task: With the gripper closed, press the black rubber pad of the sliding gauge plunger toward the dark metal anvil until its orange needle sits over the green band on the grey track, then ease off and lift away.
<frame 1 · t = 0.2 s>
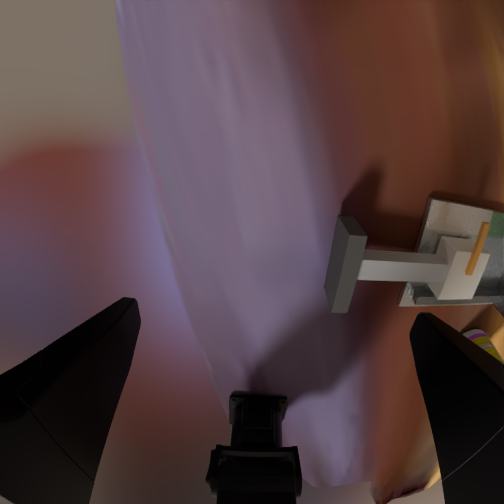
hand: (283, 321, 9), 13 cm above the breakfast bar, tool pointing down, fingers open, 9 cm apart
supplement bottle: (462, 346, 29), on the breakfast bar
plunger: (419, 258, 20), point 2 cm above the breakfast bar, slide at 0.0 cm
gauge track: (471, 257, 23), on the breakfast bar
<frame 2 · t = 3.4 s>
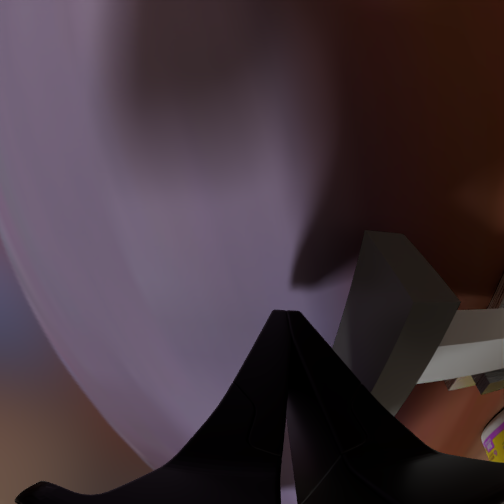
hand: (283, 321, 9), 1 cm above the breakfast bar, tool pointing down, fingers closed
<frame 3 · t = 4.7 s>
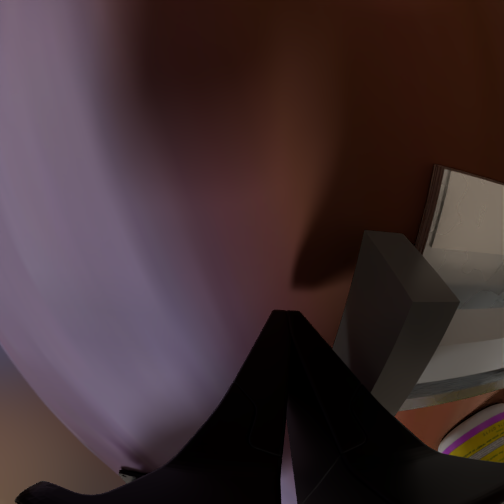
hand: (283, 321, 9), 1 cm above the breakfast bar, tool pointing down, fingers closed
supplement bottle: (472, 424, 16), on the breakfast bar
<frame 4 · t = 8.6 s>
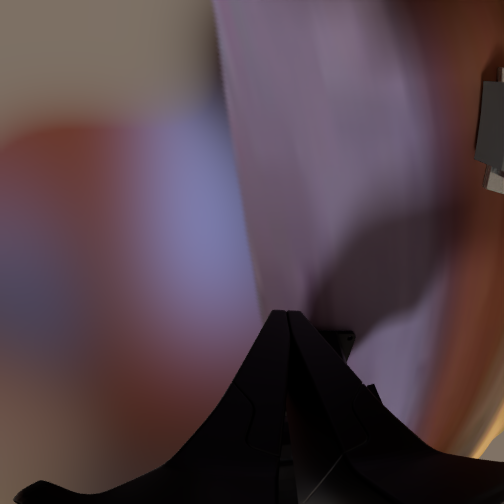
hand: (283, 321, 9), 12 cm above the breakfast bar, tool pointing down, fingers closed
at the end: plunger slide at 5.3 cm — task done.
